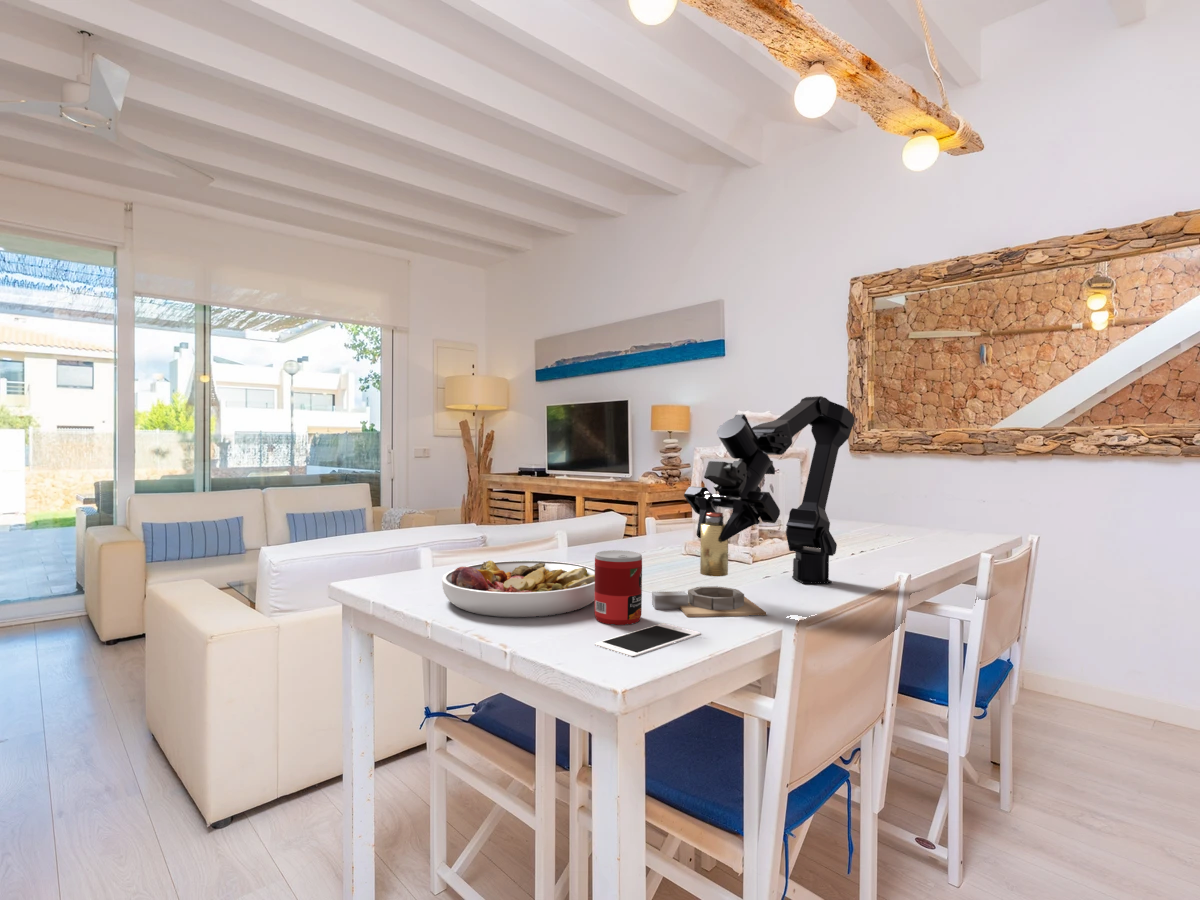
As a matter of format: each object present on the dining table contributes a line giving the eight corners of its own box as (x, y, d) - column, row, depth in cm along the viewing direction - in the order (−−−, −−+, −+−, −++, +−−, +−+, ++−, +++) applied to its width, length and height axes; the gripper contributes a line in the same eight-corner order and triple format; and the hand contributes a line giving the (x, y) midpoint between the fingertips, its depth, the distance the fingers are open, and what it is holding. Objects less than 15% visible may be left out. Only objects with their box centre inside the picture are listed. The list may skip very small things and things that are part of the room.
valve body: (715, 569, 122) (716, 511, 122) (733, 574, 118) (734, 513, 118) (694, 572, 120) (695, 512, 120) (711, 577, 115) (712, 515, 115)
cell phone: (701, 636, 101) (702, 632, 101) (632, 660, 90) (632, 655, 90) (663, 626, 107) (663, 622, 106) (593, 647, 95) (593, 643, 95)
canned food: (638, 627, 104) (638, 558, 104) (589, 623, 106) (590, 556, 106) (644, 614, 112) (645, 551, 112) (599, 612, 114) (599, 549, 113)
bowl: (536, 577, 143) (536, 542, 143) (636, 602, 122) (637, 560, 122) (411, 599, 122) (412, 558, 122) (506, 634, 101) (507, 584, 101)
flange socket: (740, 596, 126) (740, 583, 126) (766, 615, 112) (766, 600, 112) (646, 597, 124) (646, 584, 124) (661, 617, 110) (661, 602, 110)
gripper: (690, 445, 128) (650, 504, 121) (771, 446, 114) (732, 513, 107) (715, 483, 133) (679, 542, 126) (795, 489, 119) (759, 555, 112)
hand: (709, 538), depth 118 cm, fingers closed on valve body, 5 cm apart
